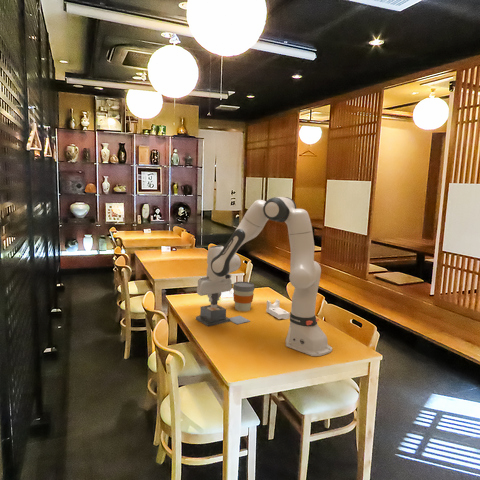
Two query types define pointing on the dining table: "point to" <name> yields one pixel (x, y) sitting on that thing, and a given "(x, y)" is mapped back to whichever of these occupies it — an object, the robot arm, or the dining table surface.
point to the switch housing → (212, 316)
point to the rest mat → (239, 320)
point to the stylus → (214, 300)
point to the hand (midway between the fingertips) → (214, 301)
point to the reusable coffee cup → (243, 295)
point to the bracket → (277, 310)
